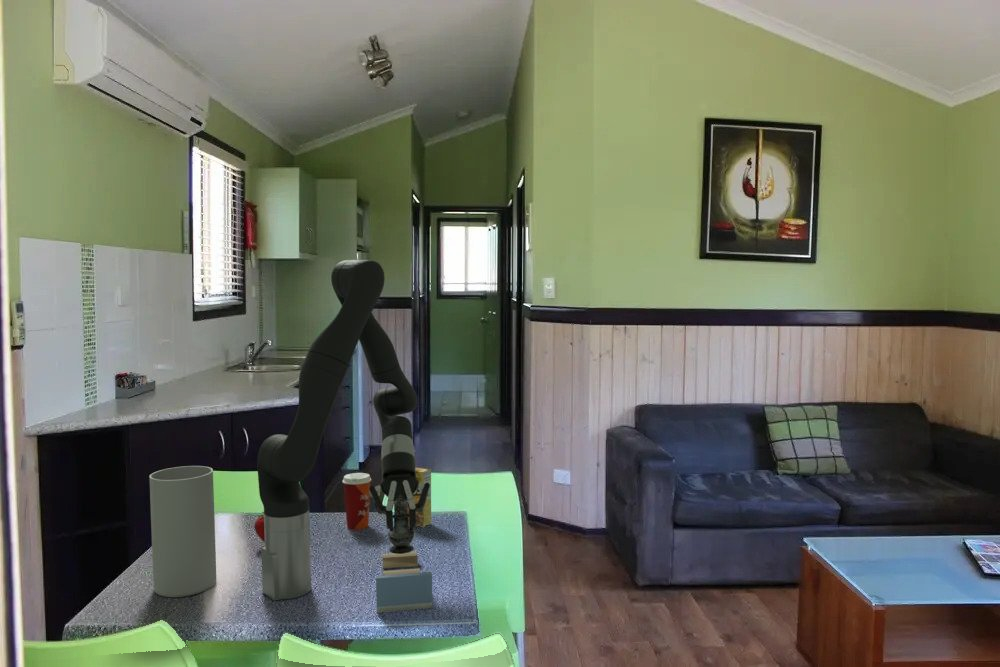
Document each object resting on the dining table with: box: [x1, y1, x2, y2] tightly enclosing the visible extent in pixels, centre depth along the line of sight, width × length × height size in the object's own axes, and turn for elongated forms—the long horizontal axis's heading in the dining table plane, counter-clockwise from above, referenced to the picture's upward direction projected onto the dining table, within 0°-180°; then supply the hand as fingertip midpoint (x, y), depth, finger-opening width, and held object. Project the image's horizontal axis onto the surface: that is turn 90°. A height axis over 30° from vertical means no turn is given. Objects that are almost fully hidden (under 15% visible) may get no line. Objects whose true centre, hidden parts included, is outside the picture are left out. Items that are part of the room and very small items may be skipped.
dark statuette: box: [387, 495, 416, 554], centre depth 156 cm, size 6×6×12 cm
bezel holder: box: [375, 571, 433, 614], centre depth 149 cm, size 10×11×7 cm
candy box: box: [407, 466, 432, 528], centre depth 198 cm, size 9×4×15 cm, turn 62°
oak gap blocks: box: [381, 551, 422, 575], centre depth 163 cm, size 13×8×2 cm, turn 10°
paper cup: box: [341, 472, 372, 531], centre depth 196 cm, size 8×8×14 cm
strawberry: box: [254, 511, 265, 543], centre depth 182 cm, size 6×8×10 cm
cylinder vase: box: [149, 465, 217, 598], centre depth 157 cm, size 12×12×25 cm
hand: (401, 528), depth 154 cm, fingers closed on dark statuette, 3 cm apart
